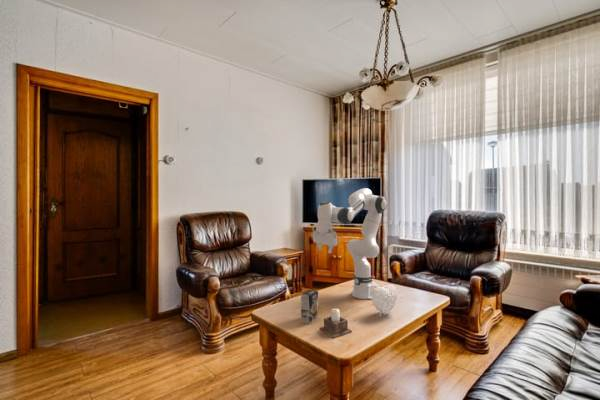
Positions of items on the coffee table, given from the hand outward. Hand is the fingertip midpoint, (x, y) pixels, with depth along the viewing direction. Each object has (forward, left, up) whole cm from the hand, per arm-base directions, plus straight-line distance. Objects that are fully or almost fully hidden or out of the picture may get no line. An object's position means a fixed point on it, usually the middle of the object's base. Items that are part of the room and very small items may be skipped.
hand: (324, 251), depth 179 cm
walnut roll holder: (+10, +22, -37) cm, 44 cm away
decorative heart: (-28, +22, -37) cm, 52 cm away
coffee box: (+14, +4, -37) cm, 40 cm away
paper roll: (+10, +22, -36) cm, 44 cm away
